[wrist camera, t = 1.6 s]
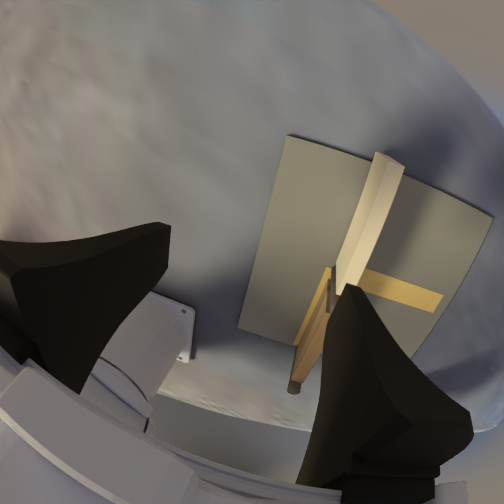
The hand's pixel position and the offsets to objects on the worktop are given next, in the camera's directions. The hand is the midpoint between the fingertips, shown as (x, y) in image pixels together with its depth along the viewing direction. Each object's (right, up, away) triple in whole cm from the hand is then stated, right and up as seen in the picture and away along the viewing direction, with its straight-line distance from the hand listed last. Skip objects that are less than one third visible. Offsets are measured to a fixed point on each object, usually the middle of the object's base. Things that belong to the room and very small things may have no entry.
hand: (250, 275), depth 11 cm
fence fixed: (+5, -4, +11) cm, 13 cm away
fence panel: (+7, +3, +6) cm, 10 cm away
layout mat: (+8, -1, +9) cm, 12 cm away
